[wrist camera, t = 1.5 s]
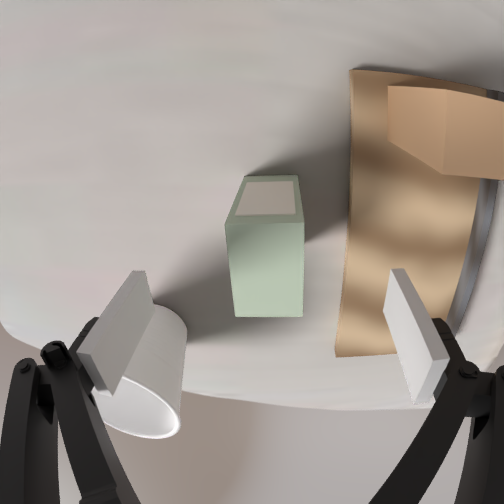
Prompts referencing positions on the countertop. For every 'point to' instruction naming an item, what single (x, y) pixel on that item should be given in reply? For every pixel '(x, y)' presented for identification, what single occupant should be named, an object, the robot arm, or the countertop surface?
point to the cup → (150, 381)
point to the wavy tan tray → (405, 221)
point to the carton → (267, 247)
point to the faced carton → (448, 130)
